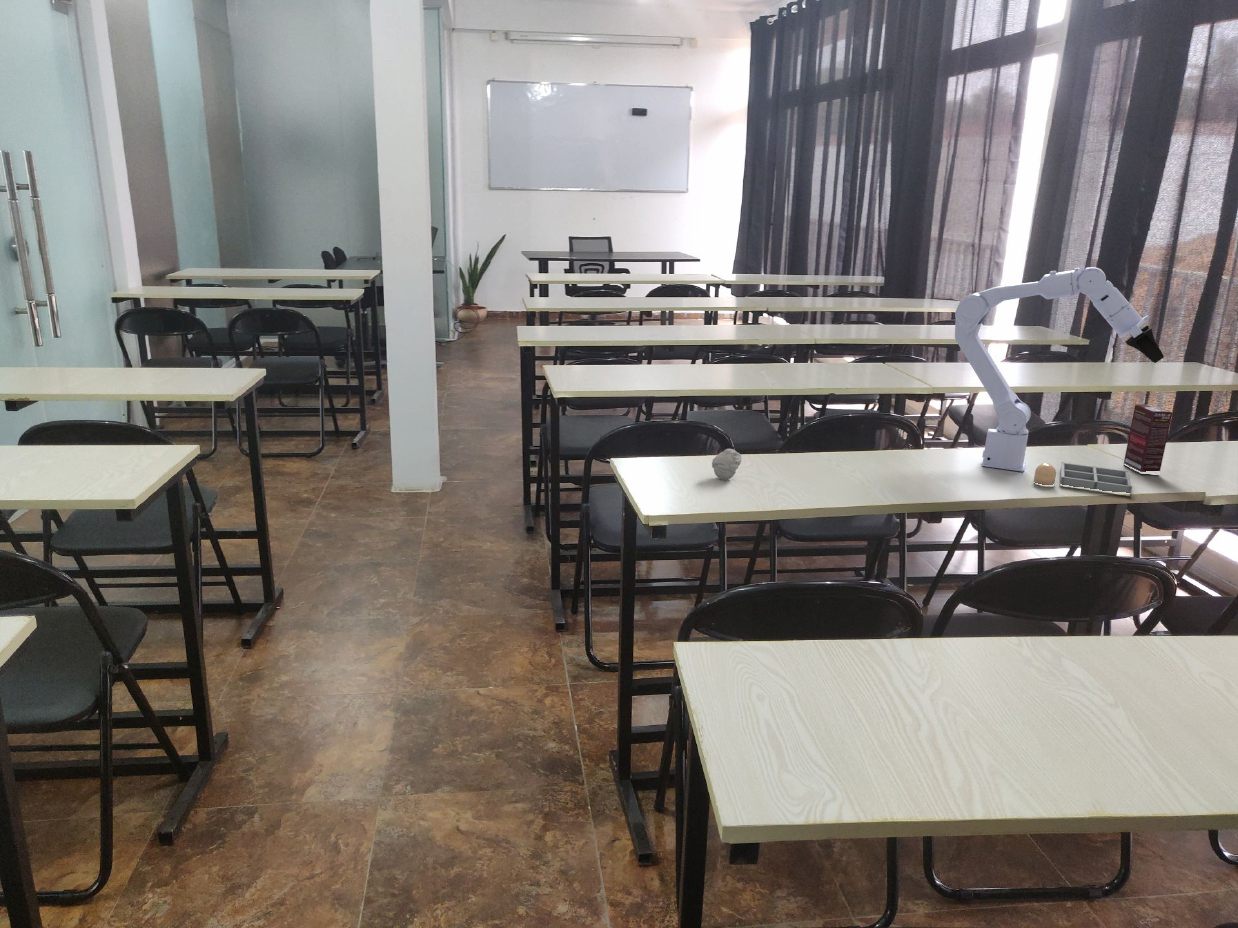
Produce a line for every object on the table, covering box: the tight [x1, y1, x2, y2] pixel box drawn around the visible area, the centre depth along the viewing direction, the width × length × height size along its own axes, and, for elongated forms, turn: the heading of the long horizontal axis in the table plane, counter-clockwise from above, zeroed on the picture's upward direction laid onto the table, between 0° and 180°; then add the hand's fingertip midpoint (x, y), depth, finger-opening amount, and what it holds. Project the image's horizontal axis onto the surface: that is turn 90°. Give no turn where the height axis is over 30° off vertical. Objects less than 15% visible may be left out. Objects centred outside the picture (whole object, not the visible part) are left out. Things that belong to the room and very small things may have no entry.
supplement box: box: [1123, 403, 1173, 472], centre depth 217 cm, size 9×5×16 cm, turn 179°
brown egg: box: [1033, 463, 1057, 485], centre depth 205 cm, size 4×4×5 cm
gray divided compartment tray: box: [1059, 461, 1133, 493], centre depth 207 cm, size 14×14×2 cm
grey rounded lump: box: [711, 448, 742, 481], centre depth 201 cm, size 6×7×7 cm
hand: (1158, 359), depth 198 cm, fingers open, 7 cm apart
